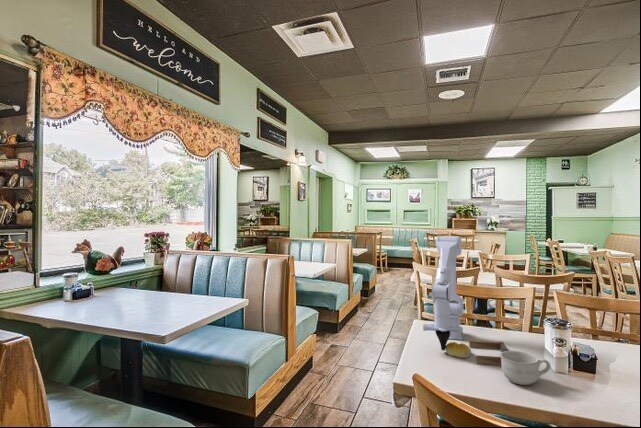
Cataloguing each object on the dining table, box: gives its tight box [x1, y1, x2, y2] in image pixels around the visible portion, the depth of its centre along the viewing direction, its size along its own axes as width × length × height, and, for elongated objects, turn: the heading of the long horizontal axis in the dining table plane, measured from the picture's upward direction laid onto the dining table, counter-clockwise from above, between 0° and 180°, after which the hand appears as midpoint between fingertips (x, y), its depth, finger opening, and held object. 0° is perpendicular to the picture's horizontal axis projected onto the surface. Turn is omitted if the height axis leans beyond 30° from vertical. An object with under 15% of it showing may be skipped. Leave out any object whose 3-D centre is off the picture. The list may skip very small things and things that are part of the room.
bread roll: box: [445, 341, 472, 359], centre depth 130 cm, size 8×9×4 cm
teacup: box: [500, 350, 551, 386], centre depth 108 cm, size 14×11×8 cm
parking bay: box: [468, 339, 510, 367], centre depth 127 cm, size 16×12×2 cm
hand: (443, 349), depth 132 cm, fingers closed
